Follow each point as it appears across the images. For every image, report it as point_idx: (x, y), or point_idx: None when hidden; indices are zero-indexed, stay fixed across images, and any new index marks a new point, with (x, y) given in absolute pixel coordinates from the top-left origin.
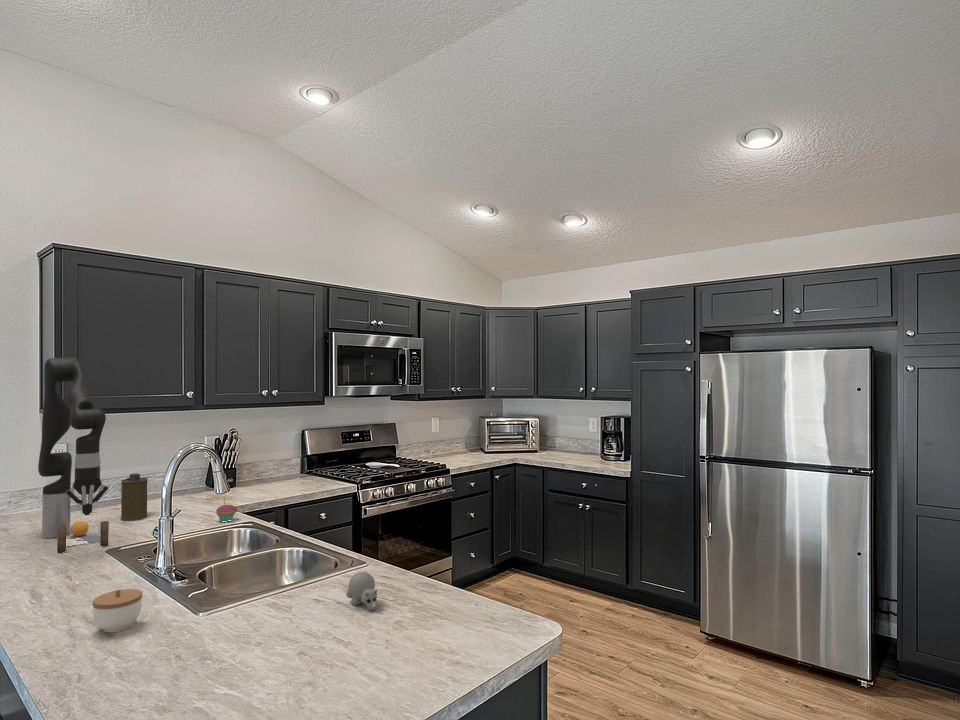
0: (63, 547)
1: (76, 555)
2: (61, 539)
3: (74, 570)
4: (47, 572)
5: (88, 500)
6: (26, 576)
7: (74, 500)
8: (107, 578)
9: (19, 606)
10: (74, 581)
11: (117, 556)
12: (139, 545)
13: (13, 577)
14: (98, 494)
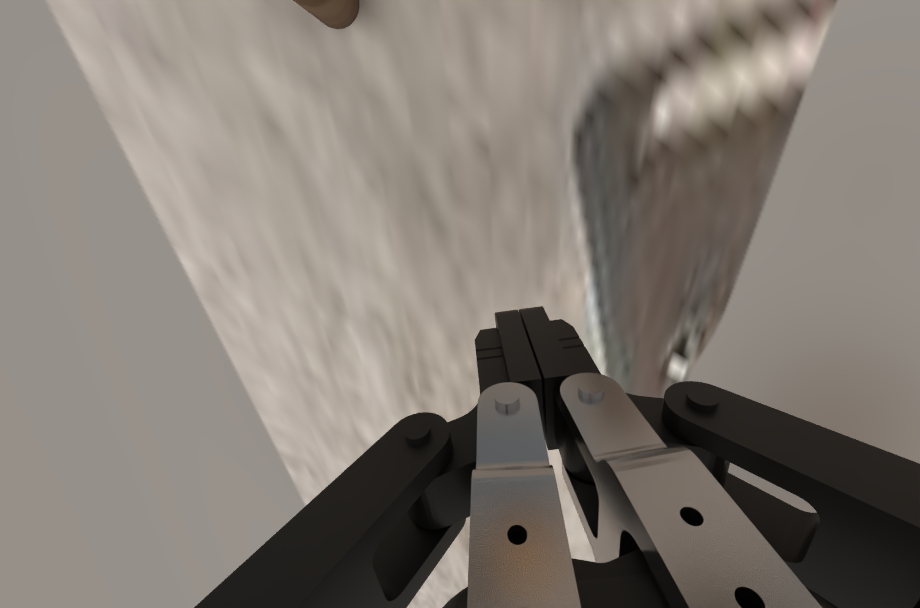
0: (339, 15)
1: (432, 143)
2: (306, 4)
3: (451, 392)
4: (360, 371)
5: (575, 507)
6: (298, 383)
7: (380, 555)
8: None
9: None
10: None
11: (609, 279)
12: (755, 99)
13: (253, 374)
14: (791, 567)
